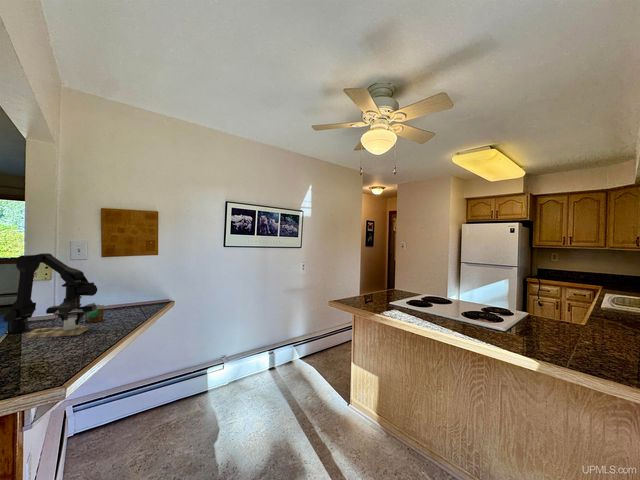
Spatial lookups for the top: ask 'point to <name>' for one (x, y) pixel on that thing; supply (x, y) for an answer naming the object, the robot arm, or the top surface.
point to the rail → (54, 332)
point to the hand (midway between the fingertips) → (71, 325)
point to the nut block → (70, 324)
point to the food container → (96, 314)
